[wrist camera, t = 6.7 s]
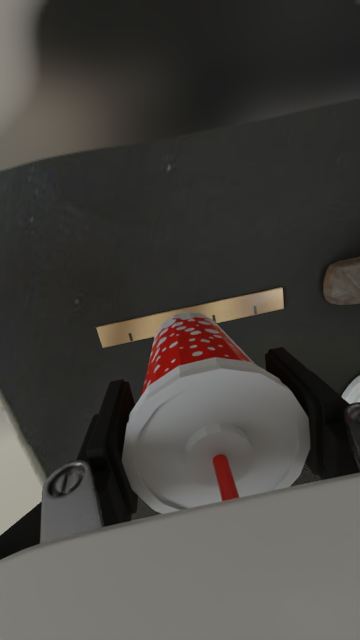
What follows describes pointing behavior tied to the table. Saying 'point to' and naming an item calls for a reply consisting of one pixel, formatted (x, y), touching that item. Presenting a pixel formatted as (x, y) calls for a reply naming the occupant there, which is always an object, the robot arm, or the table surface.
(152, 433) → the beverage cup
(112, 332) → the ruler
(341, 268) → the worn brown figurine
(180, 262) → the table surface
